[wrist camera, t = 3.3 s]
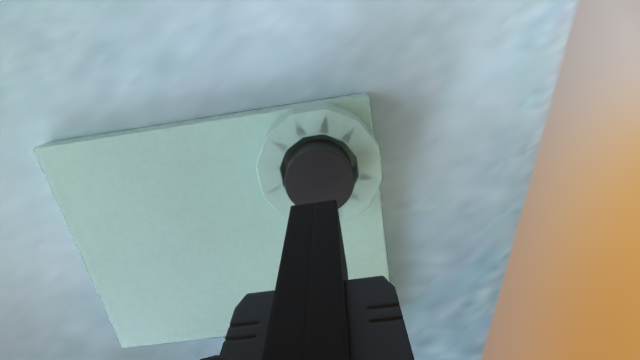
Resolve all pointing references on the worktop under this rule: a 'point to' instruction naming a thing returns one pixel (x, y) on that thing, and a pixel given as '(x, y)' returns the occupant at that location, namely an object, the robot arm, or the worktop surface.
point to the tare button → (319, 173)
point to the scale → (205, 211)
